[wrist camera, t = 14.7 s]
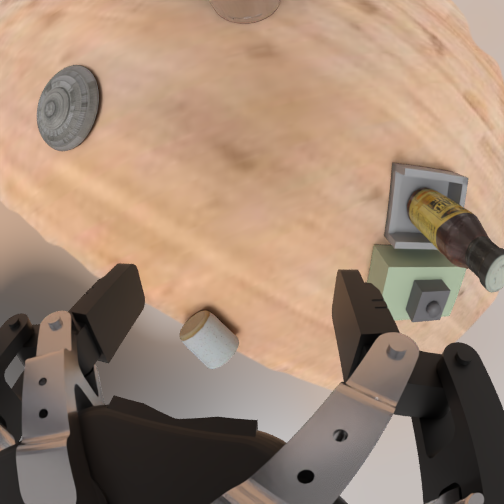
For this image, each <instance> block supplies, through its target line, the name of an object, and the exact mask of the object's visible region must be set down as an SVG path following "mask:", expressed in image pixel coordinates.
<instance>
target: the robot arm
mask: <svg viewBox="0 0 504 504" xmlns="http://www.w3.org/2000/svg"><path fill="white" fill-rule="evenodd" d="M209 2H210V3H211V4H212V6H213V7H214V9H215V10H216V12H217V13H218V14H219V15H220V16H221V17H222V18H224V19H226V20H228V21H231V22H236V23H252V22H257V21H260V20H263V19H265V18H267V17H268V16H270V15H271V14H273V13H274V11H275V10H276V9H277V7H278V6H279V3H280V0H209ZM144 304H145V296H144V292H143V289H142V285H141V281H140V277H139V273H138V269H137V267H136V265H134V264H120V263H119V264H117V265H116V266H115V267H114V268H113V269H112V270H111V271H110V272H109V273H108V274H107V275H106V276H104V277H102V278H101V279H99V280H98V281H97V282H96V283H95V284H94V285H93V286H92V288H90V289H89V290H88V291H87V292H86V294H84V295H83V296H82V297H81V299H80V300H79V301H78V302H77V303H76V304H75V305H74V306H73V307H72V308H71V309H70V310H69V311H68V312H66V311H57V312H54V313H52V314H50V315H48V316H47V317H46V318H44V320H43V321H42V322H41V324H39V325H32V324H31V322H30V320H29V318H28V317H27V315H26V314H17V315H14V316H12V317H11V318H9V319H8V320H7V321H6V322H5V323H4V324H3V325H2V327H1V328H0V504H348V503H346V502H345V500H343V499H342V498H341V497H340V496H339V495H340V494H341V493H342V491H343V490H344V489H345V488H346V486H347V485H348V484H349V482H350V481H351V480H352V478H353V477H354V476H355V474H356V473H357V472H358V470H359V469H360V467H361V466H362V465H363V463H364V462H365V460H366V459H367V457H368V455H369V454H370V453H371V451H372V449H373V448H374V446H375V445H376V443H377V441H378V440H379V438H380V436H381V435H382V433H383V431H384V430H385V428H386V426H387V424H388V423H389V421H390V419H391V417H392V415H393V414H395V415H402V416H410V417H411V418H412V423H413V428H414V433H415V439H416V445H417V451H418V457H419V464H420V472H421V480H422V490H423V502H424V504H504V410H503V407H502V405H501V402H500V400H499V397H498V395H497V393H496V390H495V388H494V386H493V384H492V382H491V379H490V377H489V375H488V373H487V371H486V369H485V367H484V365H483V363H482V361H481V359H480V357H479V355H478V354H477V352H476V351H475V350H474V349H473V348H472V347H470V346H469V345H467V344H464V343H459V342H456V343H451V344H449V345H448V346H447V347H446V348H445V350H444V352H443V353H442V354H435V353H428V352H423V351H419V348H418V346H417V344H416V343H415V342H414V340H412V339H411V338H410V337H408V336H406V335H404V334H401V333H400V332H399V330H398V328H397V325H396V323H395V321H394V319H393V317H392V315H391V312H390V310H389V308H388V306H387V304H386V302H385V301H384V298H383V296H382V294H381V292H380V290H379V289H378V288H376V287H375V286H374V285H373V284H372V283H364V281H363V279H362V277H361V275H360V273H359V271H358V270H338V272H337V277H336V284H335V291H334V298H333V304H332V319H333V325H334V330H335V335H336V340H337V345H338V350H339V356H340V361H341V367H342V373H343V379H344V382H341V383H340V384H339V385H338V386H337V387H336V388H335V389H334V391H333V392H332V393H331V394H330V396H329V397H328V398H327V399H326V400H325V402H324V403H323V404H322V405H321V406H320V407H319V409H318V410H317V411H316V412H315V413H314V414H313V416H312V417H311V418H310V419H309V420H308V421H307V422H306V423H305V424H304V425H303V427H302V428H301V429H300V430H299V431H298V432H297V433H296V434H295V435H294V436H293V437H292V438H291V439H290V440H289V441H288V442H287V443H286V442H284V441H283V440H281V439H279V438H277V437H275V436H273V435H270V434H268V433H265V432H262V431H258V423H257V420H245V419H234V418H224V417H208V418H194V419H175V418H172V417H170V416H168V415H166V414H163V413H162V412H159V411H157V410H155V409H153V408H151V407H149V406H147V405H145V404H144V403H139V402H136V401H132V400H128V399H124V398H121V397H117V396H113V398H112V400H111V402H110V404H109V405H105V403H104V399H103V394H102V390H101V384H100V379H99V374H98V369H97V367H96V365H95V363H96V361H97V360H98V361H102V362H106V363H109V362H110V360H111V359H112V357H113V356H114V354H115V352H116V351H117V349H118V347H119V346H120V344H121V343H122V341H123V340H124V338H125V337H126V335H127V333H128V332H129V330H130V329H131V327H132V326H133V324H134V322H135V321H136V319H137V318H138V316H139V315H140V313H141V312H142V310H143V308H144ZM16 355H17V356H18V358H19V359H20V361H21V362H22V364H23V365H24V367H25V369H24V371H23V372H22V374H21V375H20V377H19V378H18V380H17V381H16V383H15V384H14V386H13V388H12V389H11V388H10V386H9V385H8V384H7V383H6V381H5V378H4V373H5V370H6V368H7V367H8V365H9V364H10V363H11V361H12V360H13V359H14V357H15V356H16ZM21 436H22V441H20V442H19V440H20V438H21Z"/></svg>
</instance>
